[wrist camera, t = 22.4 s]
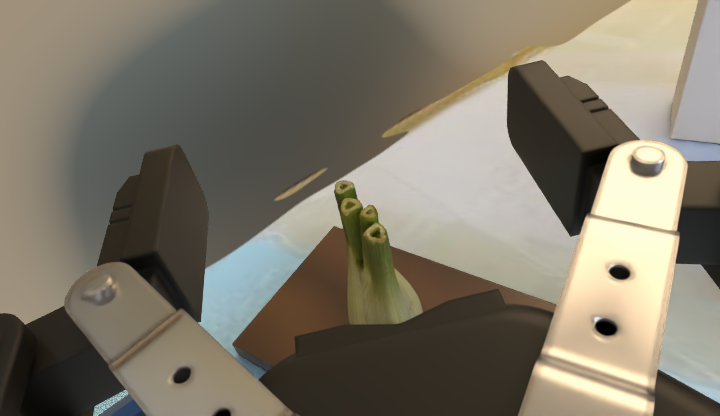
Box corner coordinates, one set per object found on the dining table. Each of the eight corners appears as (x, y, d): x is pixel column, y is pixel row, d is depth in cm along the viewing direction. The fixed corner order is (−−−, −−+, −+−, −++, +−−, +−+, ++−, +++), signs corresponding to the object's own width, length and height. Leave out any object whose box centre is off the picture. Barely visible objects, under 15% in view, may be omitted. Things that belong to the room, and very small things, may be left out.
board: (337, 237, 47) (333, 225, 46) (572, 323, 37) (574, 310, 36) (238, 355, 40) (231, 343, 39) (497, 500, 30) (497, 490, 29)
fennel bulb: (357, 300, 40) (323, 175, 32) (423, 296, 39) (406, 167, 31) (352, 371, 36) (311, 247, 28) (427, 368, 35) (408, 240, 27)
